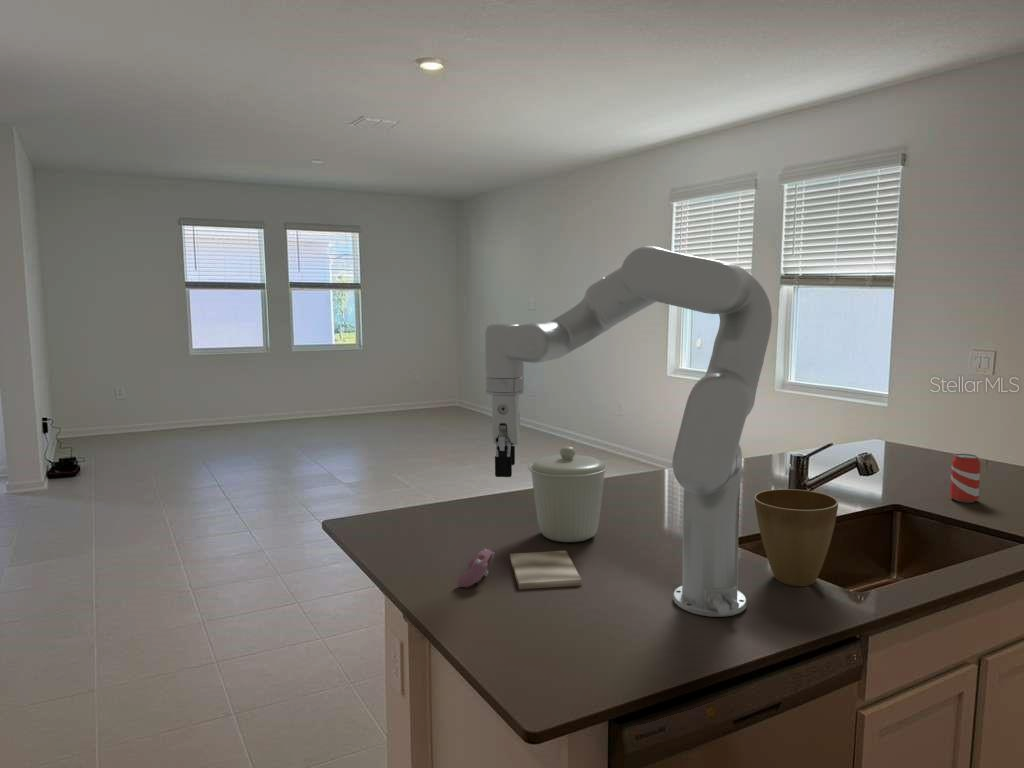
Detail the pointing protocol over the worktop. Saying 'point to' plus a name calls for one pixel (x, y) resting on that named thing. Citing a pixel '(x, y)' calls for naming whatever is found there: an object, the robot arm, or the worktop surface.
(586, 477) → the canister
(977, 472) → the beverage can
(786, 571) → the plant pot
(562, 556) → the birch board
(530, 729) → the worktop surface
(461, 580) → the video game controller
